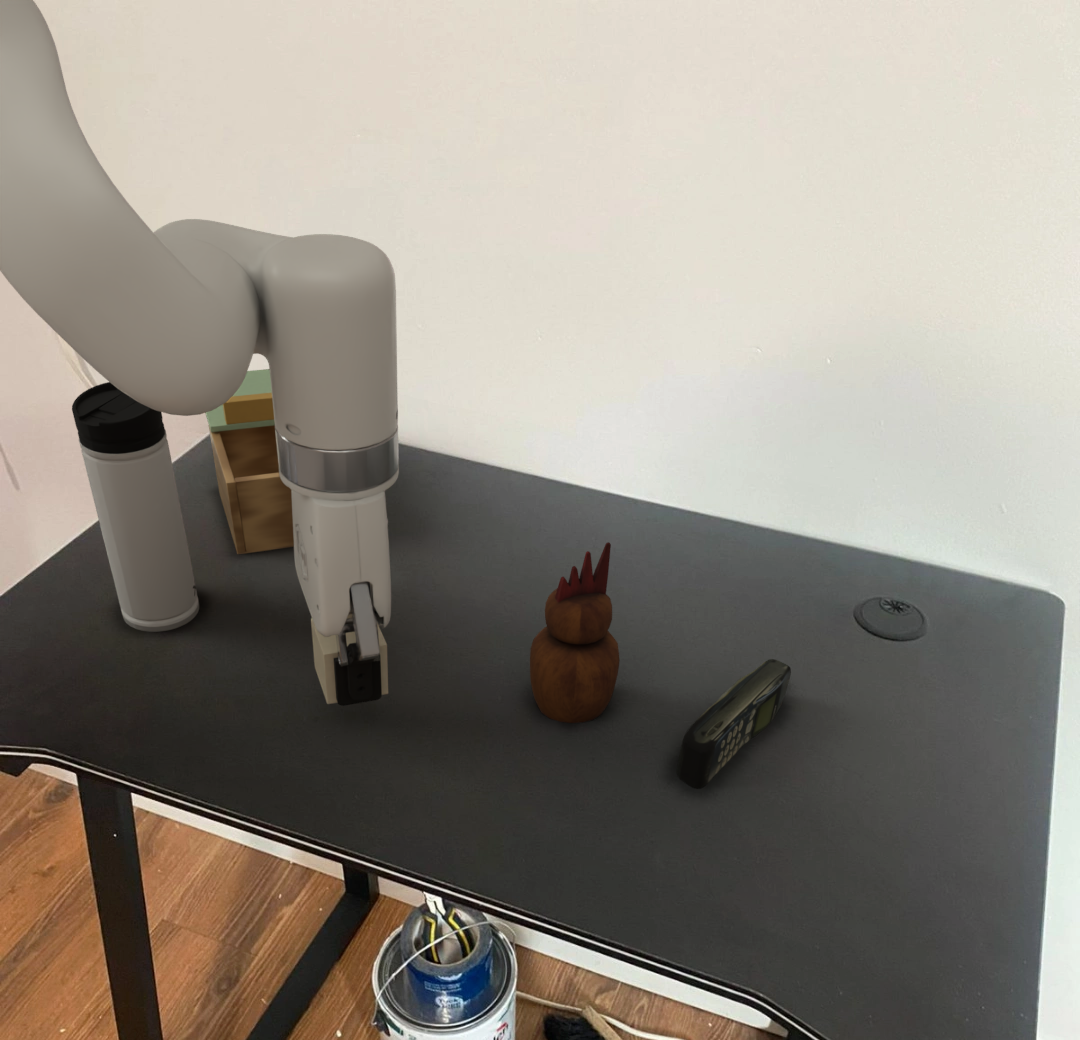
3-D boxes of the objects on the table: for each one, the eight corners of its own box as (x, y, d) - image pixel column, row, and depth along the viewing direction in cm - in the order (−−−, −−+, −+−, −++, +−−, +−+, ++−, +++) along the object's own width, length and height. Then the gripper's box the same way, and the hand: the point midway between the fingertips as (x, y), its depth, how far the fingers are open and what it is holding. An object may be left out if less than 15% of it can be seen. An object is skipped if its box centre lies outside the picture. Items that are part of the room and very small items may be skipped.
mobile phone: (712, 753, 74) (809, 650, 84) (675, 734, 76) (775, 635, 85) (702, 802, 78) (796, 698, 87) (667, 783, 79) (764, 683, 88)
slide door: (211, 432, 100) (206, 404, 98) (195, 381, 108) (190, 354, 107) (327, 419, 103) (325, 392, 102) (303, 371, 112) (301, 344, 110)
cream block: (327, 704, 77) (323, 654, 74) (314, 667, 80) (310, 618, 77) (388, 694, 78) (387, 644, 75) (373, 658, 81) (371, 609, 78)
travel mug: (218, 606, 93) (178, 385, 80) (167, 646, 88) (117, 418, 75) (160, 587, 95) (112, 368, 82) (108, 625, 90) (48, 399, 77)
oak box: (238, 561, 99) (226, 482, 93) (220, 499, 107) (208, 424, 102) (355, 544, 102) (350, 467, 97) (329, 485, 110) (323, 411, 105)
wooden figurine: (610, 689, 87) (629, 527, 77) (614, 736, 83) (635, 571, 73) (527, 686, 87) (536, 523, 77) (527, 732, 82) (536, 567, 73)
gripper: (255, 400, 72) (279, 621, 84) (304, 525, 60) (324, 763, 72) (365, 391, 74) (373, 608, 86) (433, 510, 62) (431, 742, 74)
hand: (350, 676), depth 79 cm, fingers closed on cream block, 4 cm apart
